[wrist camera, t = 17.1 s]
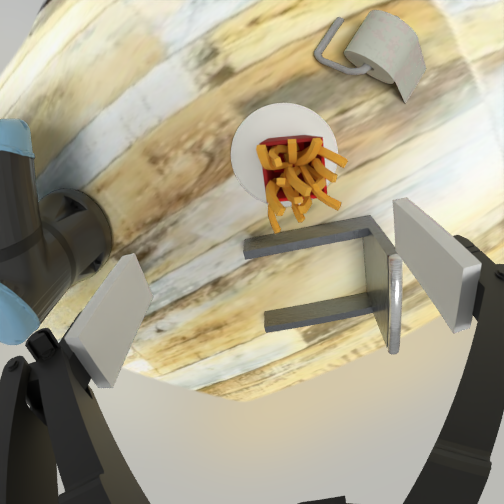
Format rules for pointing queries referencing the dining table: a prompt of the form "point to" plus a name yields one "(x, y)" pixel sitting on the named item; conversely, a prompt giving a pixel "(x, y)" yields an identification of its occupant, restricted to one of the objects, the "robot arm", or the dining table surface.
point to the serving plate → (271, 126)
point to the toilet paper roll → (381, 51)
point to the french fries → (296, 174)
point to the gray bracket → (373, 301)
